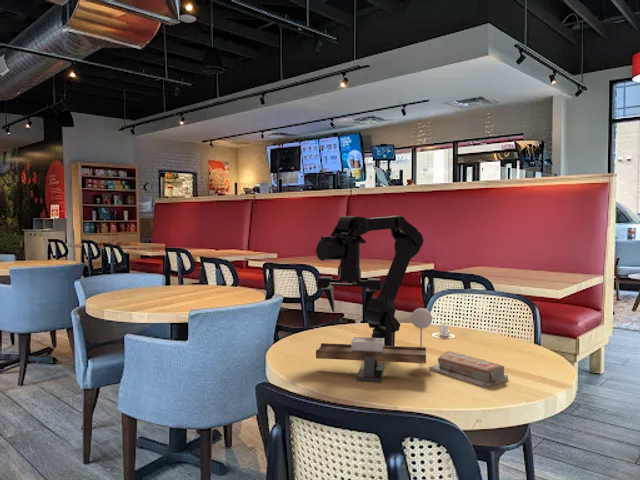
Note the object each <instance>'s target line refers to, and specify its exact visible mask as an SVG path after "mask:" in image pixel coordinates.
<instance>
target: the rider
mask: <svg viewBox="0 0 640 480" xmlns="http://www.w3.org/2000/svg"><path fill="white" fill-rule="evenodd" d="M351 347H352V351H361V352H384V338H372V337H367V336H366V337H364V336H363V337H362V336H360V337H359V336H354V337H353V338H352V340H351Z"/></svg>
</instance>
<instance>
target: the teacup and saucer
mask: <svg viewBox="0 0 640 480" xmlns="http://www.w3.org/2000/svg"><path fill="white" fill-rule="evenodd" d="M438 329H439V330H438V332H433V333H432V334H431V337H434V338H437V339H441V338H442V339H443V340H444V339H445V340H446V339H447V340H449V339H454V338H456V336H455V334H452V333H450V332H451V331H450V330H449V325H448V324H443V323H442V324H438ZM436 335H440V336H436ZM447 336H450V337H447Z"/></svg>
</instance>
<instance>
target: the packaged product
mask: <svg viewBox="0 0 640 480" xmlns="http://www.w3.org/2000/svg"><path fill="white" fill-rule="evenodd" d="M437 362H438V363H436V364H433V365H431V366H428V369H429V371H432V372H436V373H439V374H440V373H441V374H443V375H446V376H448V377H452V378H455V379H458V380H460V381H463V382H468V383H471V384H474V385H478V386H481V387H484V388H487V389H488V388H491V387H493V386H497V385H499V384H501V383H505V382H507V381H509V376H508V374H505V366H504V365H501V364H499V363H495V362H492V361H487V360H485V359H481V358H478V357H473V356H470V355H466V354H464V353H463V354H462V353H459V352H455V351H450V350H448V351H446V352H445V353H443V354H442V355H440V356H439V357H438V359H437Z"/></svg>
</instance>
